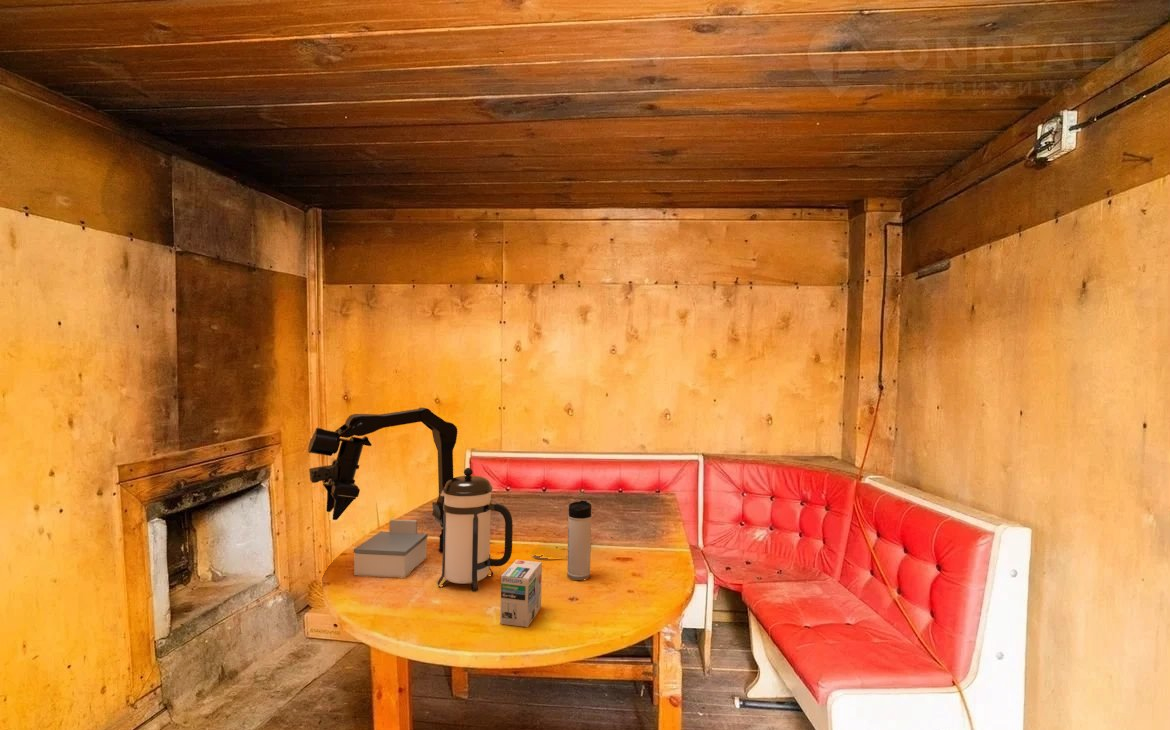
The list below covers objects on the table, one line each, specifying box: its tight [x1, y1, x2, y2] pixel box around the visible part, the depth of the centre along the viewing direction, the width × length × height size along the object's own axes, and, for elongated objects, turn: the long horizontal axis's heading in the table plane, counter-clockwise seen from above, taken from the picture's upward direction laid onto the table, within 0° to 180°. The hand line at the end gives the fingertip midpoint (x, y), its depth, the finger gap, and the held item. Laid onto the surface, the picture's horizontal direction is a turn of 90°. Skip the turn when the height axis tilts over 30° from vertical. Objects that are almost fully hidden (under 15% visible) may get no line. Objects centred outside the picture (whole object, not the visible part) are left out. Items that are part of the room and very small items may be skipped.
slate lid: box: [353, 518, 428, 555], centre depth 147 cm, size 14×15×5 cm
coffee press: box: [436, 467, 514, 592], centre depth 138 cm, size 17×16×30 cm
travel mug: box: [566, 499, 592, 581], centre depth 143 cm, size 6×7×20 cm
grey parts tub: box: [353, 537, 428, 579], centre depth 147 cm, size 14×15×6 cm
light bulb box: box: [500, 559, 543, 628], centre depth 120 cm, size 11×7×11 cm, turn 168°
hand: (331, 515), depth 142 cm, fingers open, 9 cm apart
